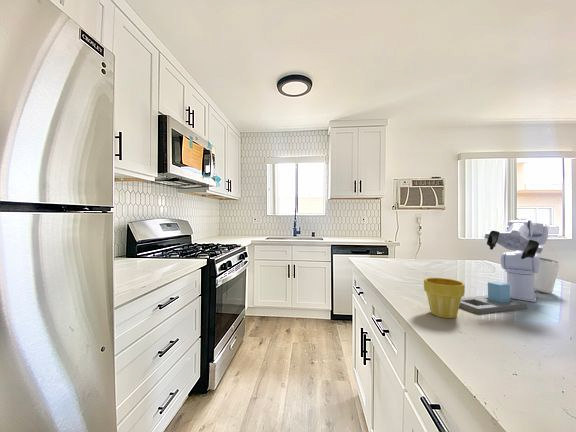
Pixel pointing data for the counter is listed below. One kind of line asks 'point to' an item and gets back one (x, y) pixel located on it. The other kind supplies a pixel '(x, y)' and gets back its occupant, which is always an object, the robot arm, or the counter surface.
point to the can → (546, 275)
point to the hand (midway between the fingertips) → (507, 251)
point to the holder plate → (489, 305)
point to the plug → (499, 292)
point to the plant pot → (444, 296)
